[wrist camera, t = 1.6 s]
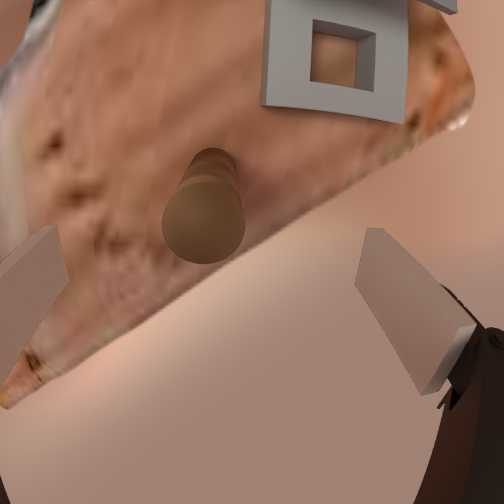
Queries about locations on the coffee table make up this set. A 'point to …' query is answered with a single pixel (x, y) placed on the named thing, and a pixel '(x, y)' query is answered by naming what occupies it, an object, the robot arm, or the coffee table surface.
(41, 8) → the coffee table surface
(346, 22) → the socket block
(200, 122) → the coffee table surface
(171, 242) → the dowel
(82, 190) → the coffee table surface
